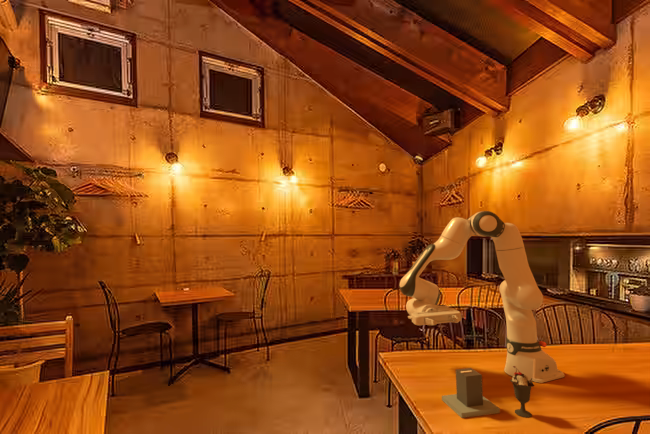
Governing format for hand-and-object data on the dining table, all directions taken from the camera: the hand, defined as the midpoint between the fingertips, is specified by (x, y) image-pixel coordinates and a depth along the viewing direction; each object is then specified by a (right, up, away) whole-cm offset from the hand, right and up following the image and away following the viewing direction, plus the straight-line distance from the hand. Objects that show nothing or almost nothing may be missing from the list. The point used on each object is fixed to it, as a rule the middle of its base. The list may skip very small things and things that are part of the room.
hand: (446, 321), depth 130 cm
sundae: (+18, -24, -20) cm, 36 cm away
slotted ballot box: (+3, -23, -15) cm, 27 cm away
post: (+3, -24, -15) cm, 29 cm away
